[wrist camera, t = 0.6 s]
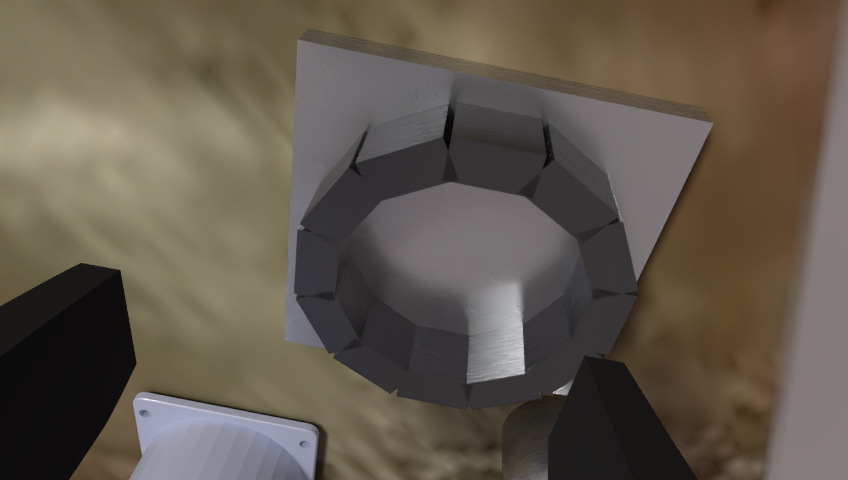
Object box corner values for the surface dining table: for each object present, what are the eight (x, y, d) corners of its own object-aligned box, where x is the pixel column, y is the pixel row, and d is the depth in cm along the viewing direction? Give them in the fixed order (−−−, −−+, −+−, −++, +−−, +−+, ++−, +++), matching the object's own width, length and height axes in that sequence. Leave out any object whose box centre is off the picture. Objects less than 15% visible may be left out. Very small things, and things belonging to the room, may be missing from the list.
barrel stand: (577, 377, 23) (587, 449, 20) (292, 321, 23) (265, 386, 20) (702, 108, 16) (741, 161, 14) (307, 29, 16) (270, 67, 14)
